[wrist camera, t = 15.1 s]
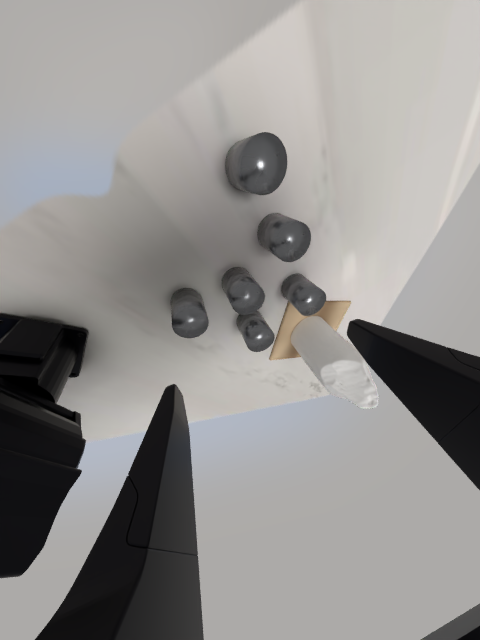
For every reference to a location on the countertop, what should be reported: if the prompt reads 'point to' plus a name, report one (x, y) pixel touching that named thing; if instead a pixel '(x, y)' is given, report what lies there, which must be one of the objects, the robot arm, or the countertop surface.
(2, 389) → the robot arm
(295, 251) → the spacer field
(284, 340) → the mat
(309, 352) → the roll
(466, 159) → the countertop surface
